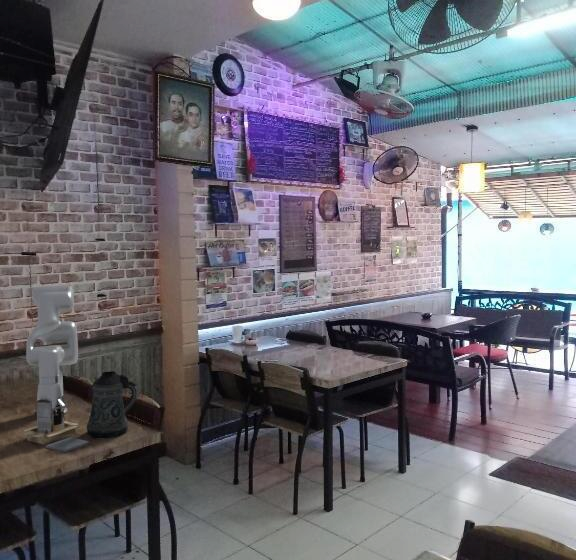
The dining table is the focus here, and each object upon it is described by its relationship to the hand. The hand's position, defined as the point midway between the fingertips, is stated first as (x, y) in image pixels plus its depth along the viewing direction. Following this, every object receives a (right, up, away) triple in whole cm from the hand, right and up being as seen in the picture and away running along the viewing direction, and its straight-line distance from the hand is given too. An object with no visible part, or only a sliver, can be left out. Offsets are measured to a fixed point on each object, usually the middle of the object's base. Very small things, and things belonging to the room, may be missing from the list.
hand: (51, 422), depth 226 cm
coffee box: (0, -6, 0) cm, 6 cm away
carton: (0, -6, 0) cm, 6 cm away
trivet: (+10, -6, -10) cm, 16 cm away
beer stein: (+22, -6, +7) cm, 24 cm away
